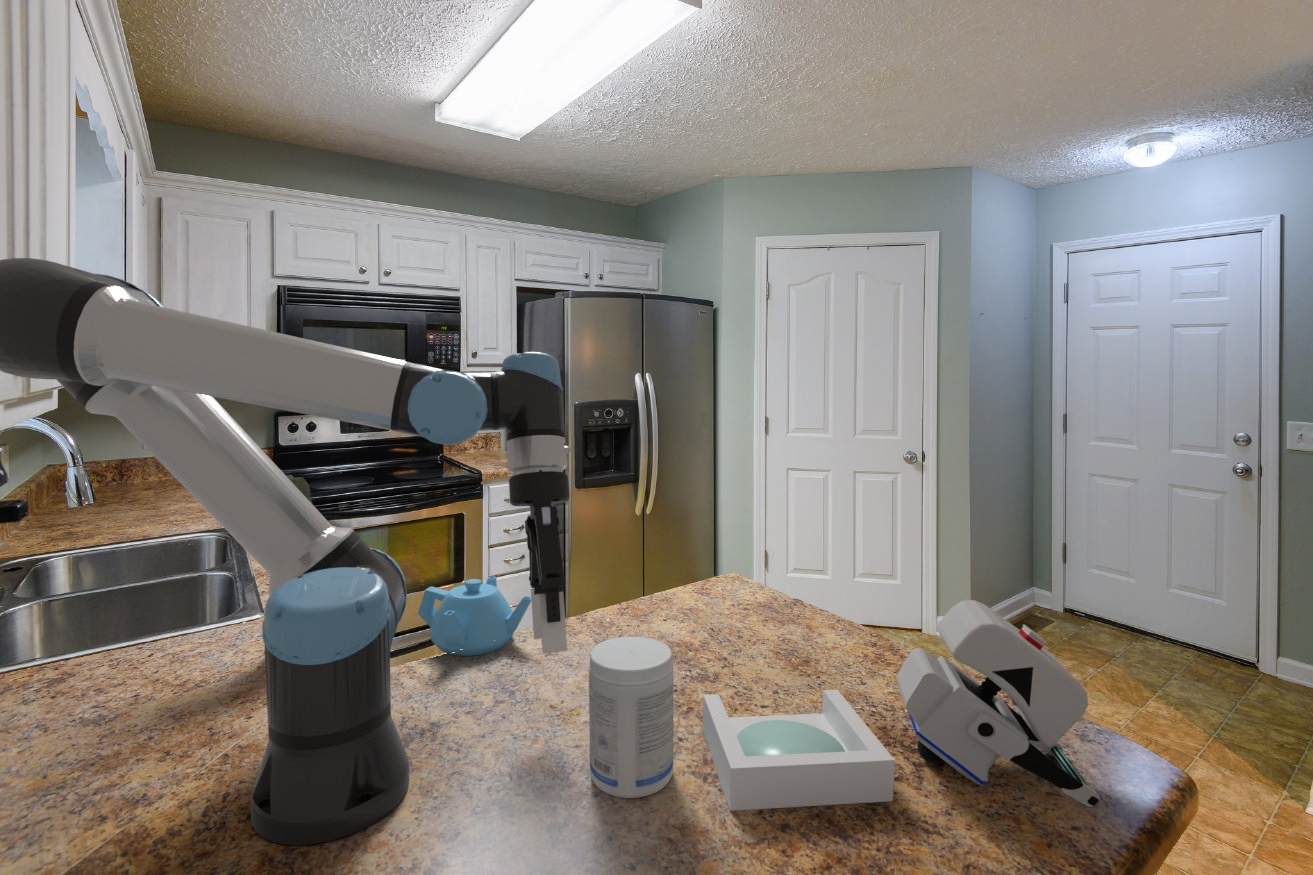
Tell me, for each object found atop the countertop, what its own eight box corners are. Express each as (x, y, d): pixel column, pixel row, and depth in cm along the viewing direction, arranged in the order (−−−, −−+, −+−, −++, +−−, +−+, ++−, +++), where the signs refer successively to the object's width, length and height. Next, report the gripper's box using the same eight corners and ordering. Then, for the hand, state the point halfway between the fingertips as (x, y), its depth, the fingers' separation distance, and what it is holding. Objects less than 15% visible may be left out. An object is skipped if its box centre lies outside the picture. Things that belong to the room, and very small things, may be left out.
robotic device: (1036, 864, 71) (1167, 735, 68) (875, 738, 74) (992, 607, 70) (1005, 804, 82) (1117, 689, 78) (864, 695, 84) (966, 578, 80)
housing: (729, 810, 68) (731, 768, 68) (702, 729, 84) (703, 694, 84) (892, 801, 70) (894, 759, 70) (836, 723, 86) (837, 689, 86)
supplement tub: (670, 751, 79) (672, 635, 78) (675, 802, 69) (678, 670, 68) (591, 752, 79) (592, 634, 77) (585, 803, 69) (585, 670, 68)
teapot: (498, 619, 122) (497, 562, 121) (535, 645, 110) (535, 583, 109) (415, 637, 112) (414, 576, 112) (445, 668, 101) (445, 601, 100)
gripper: (581, 457, 72) (595, 654, 69) (557, 482, 96) (567, 629, 92) (512, 460, 70) (524, 664, 67) (505, 485, 94) (513, 636, 90)
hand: (549, 644), depth 80 cm, fingers open, 13 cm apart
